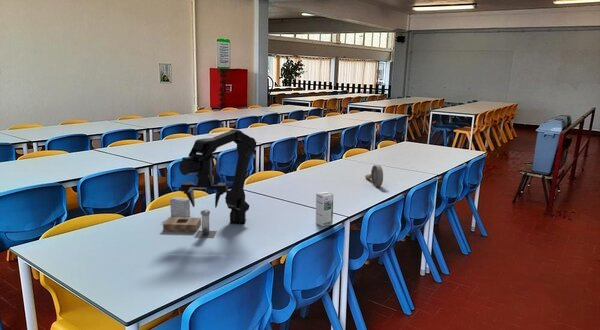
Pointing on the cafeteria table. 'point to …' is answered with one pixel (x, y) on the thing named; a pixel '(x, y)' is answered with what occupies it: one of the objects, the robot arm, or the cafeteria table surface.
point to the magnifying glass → (376, 176)
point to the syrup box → (324, 208)
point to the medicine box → (180, 207)
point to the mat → (199, 235)
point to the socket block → (181, 224)
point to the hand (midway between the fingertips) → (204, 207)
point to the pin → (205, 222)
